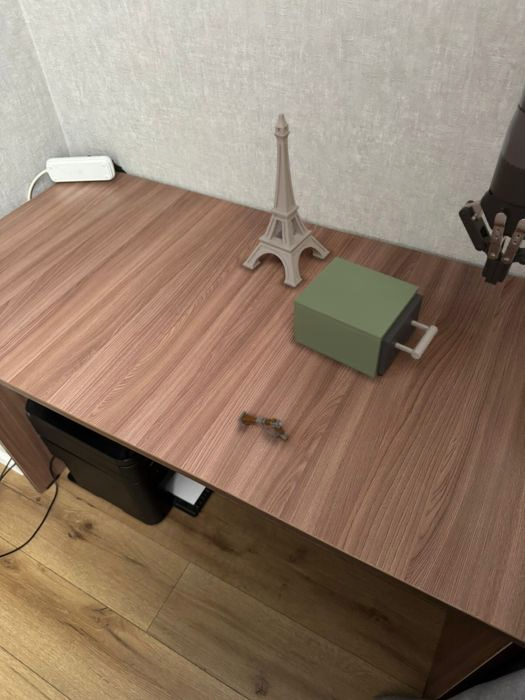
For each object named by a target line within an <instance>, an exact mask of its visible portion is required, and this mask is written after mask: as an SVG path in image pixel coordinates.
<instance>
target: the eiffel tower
mask: <svg viewBox="0 0 525 700" xmlns="http://www.w3.org/2000/svg"><path fill="white" fill-rule="evenodd" d="M289 127H290V126H289V123H288V122H287V120H286V118H285V113H282V112H280V113H279V114H278V118H277V122H276V124H275V125H274V133H273V135H274V137H275V138H276V174H275V175H276V177H275V191H274V200H273V207H272V208H271V209H270V210H269V212H270V213H271V217H270V219H269V222H268V224H267V227H266V230H265V233H263V234H262V235H261V236H259V238H258V241H259V243H258V244H257V245H256V246H255V248H254V249H253V251H252V252H251V253H250V255H248V257H247V258H246V260H245V261H244V262H243V263H242V266H243V267H245V268H248V269H250V270H252V271H253V270H254V269H255V268H256V267H258V266H259V265H260V264H261V261H260V259H261V257H262V256H263V255H264V254H273V255H275V256H277V258H279V259H280V261H281V263H282V264H283V267H284V271H285V272H284V273H285V279H284V281H283V283H284V284H285V285H288V286H290V287H292V288H296V287H297V286H298V285H300V284H301V282H302V281H303V278H301V275H300V269H299V260H300V256H301V254H302V252H303V251H304V250H305V249H306V248H310V249H311V250H312V256H313V257H315V258H318V259H321V260H325V258H326V257H328V255H329V254H330V253H331V251H330V250H328V249H327V248H326V247H325V246H324V245H322V243H321V242H320V241H318V240H317V239H316V238H315V237H314V236H313V235H312V233H313V230H310V229H308V228H307V227H306V225H305V224H304V222H303V220H302V218H301V216H300V214H299V211H298V210H299V208H300V206H299V205H297V204H296V200H295V194H294V188H293V182H292V174H291V167H290V166H291V165H290V157H289V155H290V154H289V135H290V133H291V130H290V128H289Z"/></svg>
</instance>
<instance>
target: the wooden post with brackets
mask: <svg viewBox="0 0 525 700" xmlns="http://www.w3.org/2000/svg"><path fill="white" fill-rule="evenodd" d="M237 421H238V422H239V424H240V425H241V427H246V425H248V424H250V425H254V424H255V425H257V426H262V427H267V426H269V427H270V428H269V429H267V430H266V433H267V435H268V436H269V437H274V439H276V438H277V437H279V436H280V437H281V439H282V440H283V441H285V442H287V441H288V439H289V436H288V434H287V431H285V430H284V429H283V426H284V422H283V421H282V420H281V419H280V418H276V417H272V419H271V418H268V417H265V416H254V415H250V414H248V413H247V412H246V410H242V411H241V413H240V414H239V416H238V417H237ZM271 427H272V428H271Z"/></svg>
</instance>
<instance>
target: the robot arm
mask: <svg viewBox="0 0 525 700" xmlns="http://www.w3.org/2000/svg"><path fill="white" fill-rule="evenodd" d="M483 215H484V217H485V219H486V222H487V225H488V227H489V229H490V230H491V233H490V231H489V229H488V227H487V225H486V223H485V221H484V218H483ZM458 216H459V219H460V220H461V222H462V225H463V227H464V228H465V231H466V234H467V235H468V237H469V239H470V241H471V243H472V246H473V247H474V249H475V250H476V251H477V252H483V253H484V254H485V255H486V260H485V263H484V265H483V269H482V272H481V276H482V277H483V278H485V279H484V282H485V283H487V284H491V285H493V286H497V284H498V283H500V284H501V283H503V282H504V281H506V278H507V276H508V275H509V273H510V271H511V267H512V265H513V264H514V263H518V264H519V265H520V266H521V265H522V266H525V247H521V246H522V244H523V242H524V241H525V82H524V84H523V87H522V89H521V93H520V96H519V99H518V103H517V105H516V109H515V111H514V112H513V115H512V117H511V119H510V122H509V124H508V126H507V129H506V133H505V136H504V139H503V143H502V145H501V149H500V152H499V155H498V158H497V161H496V166H495V168H494V172H493V174H492V178H491V181H490V185H489V188H488V190H487V191H486V192H485V193H484V195H483V196H482V197H481V198H480V199H478V200H475V201H474V200H472V199H469V200H467V201H466V202H465V203H464V204H463V206H462V207H461V209H460V210H459V211H458ZM507 238H510V240H509V241H508V244H507V246H506V249H505V250H504V252H503V249H504V248H505V245H506V242H507Z"/></svg>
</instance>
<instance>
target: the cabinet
mask: <svg viewBox="0 0 525 700" xmlns="http://www.w3.org/2000/svg"><path fill="white" fill-rule="evenodd" d="M419 290H420V286H418V285H416V284H413V283H410V282H407V281H404V280H402V279H399V278H396V277H393V276H390V275H388V274H385V273H383V272H379V271H377V270H374V269H371V268H368V267H366V266H363V265H361V264H357V263H355V262H352V261H350V260H346V259H343V258H341V257H338V256H335V257H334V258H333V259H332V260H331V261H330V262H329V263H328V264H327V265H326V266H325V267H324V269H323V270H321V272H320V273H318V275H316V276H315V278H314V279H313V280H312V281H311V282H310V283H309V284H308V285H306V287H305V288H304V289H303V290H302V291H301V292H300V293H299V294H298V295H297V296H296V297H295V298H294V299H293V327H294V329H293V330H294V331H293V333H294V342H296V343H298V344H300V345H303V346H305V347H306V348H309V349H311V350H313V351H315V352H317V353H320V354H321V355H323V356H326V357H328V358H330V359H333V360H335V361H336V362H338V363H341V364H342V365H345V366H347V367H349V368H351V369H353V370H356V371H358V372H360V373H362V374H364V375H366V376H367V377H368V376H369V377H371V378H372V379H374V378H376V376H377V375H378V373H377V366H378V361H379V355H380V349H381V343H382V339H383V337H384V336H385V335H386V333H387V332H388V331H389V329H390V328H391V327H392V325H393V324H394V323H395V321H396V320H397V319H398V317H399V316H400V315H401V313H402V312H403V311H404V310H405V308H406V307H407V306H408V304H409V303H410V302H411V300H412V299H413V298H414V296H415V295H416V294H419Z"/></svg>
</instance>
